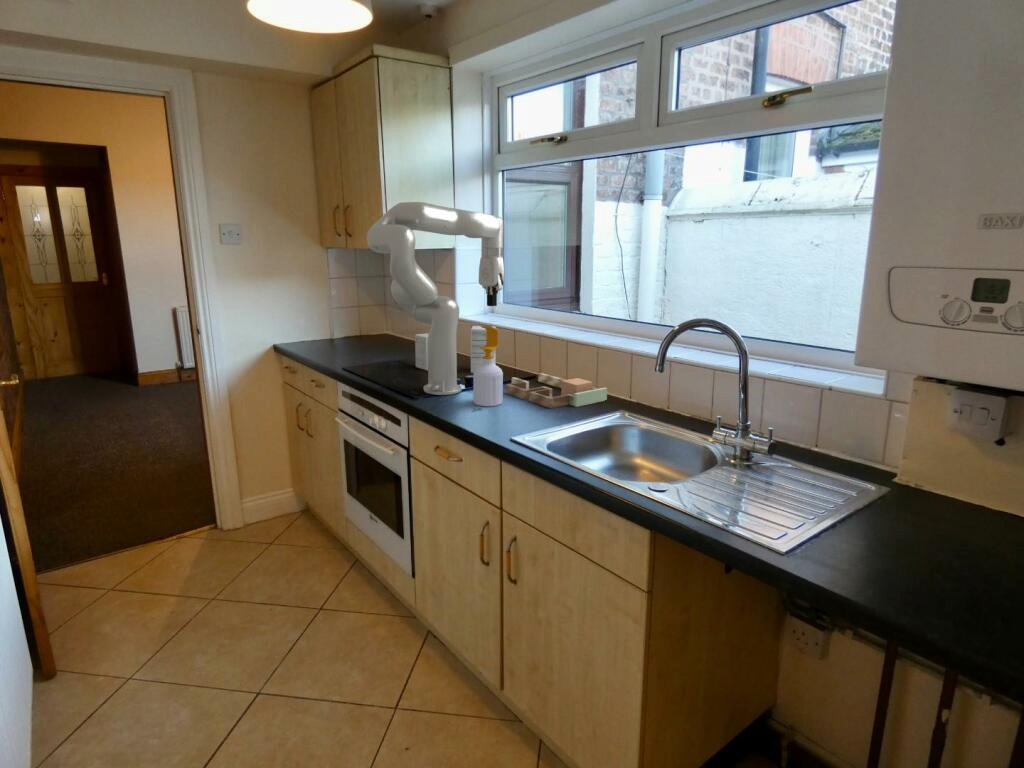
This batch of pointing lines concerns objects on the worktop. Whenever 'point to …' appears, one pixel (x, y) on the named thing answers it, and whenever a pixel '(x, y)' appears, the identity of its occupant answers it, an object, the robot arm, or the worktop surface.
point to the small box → (421, 351)
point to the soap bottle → (488, 374)
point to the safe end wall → (590, 397)
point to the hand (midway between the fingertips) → (491, 305)
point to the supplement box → (479, 341)
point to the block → (575, 386)
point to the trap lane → (540, 391)
